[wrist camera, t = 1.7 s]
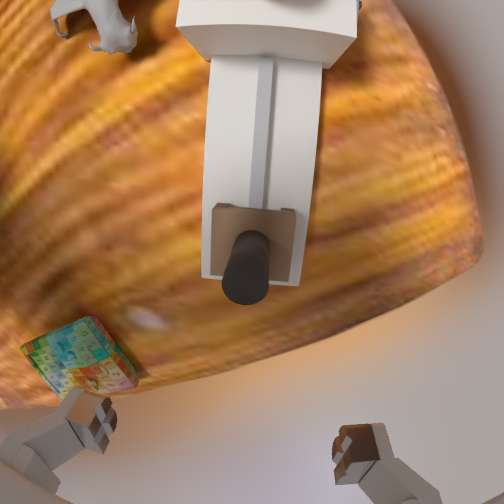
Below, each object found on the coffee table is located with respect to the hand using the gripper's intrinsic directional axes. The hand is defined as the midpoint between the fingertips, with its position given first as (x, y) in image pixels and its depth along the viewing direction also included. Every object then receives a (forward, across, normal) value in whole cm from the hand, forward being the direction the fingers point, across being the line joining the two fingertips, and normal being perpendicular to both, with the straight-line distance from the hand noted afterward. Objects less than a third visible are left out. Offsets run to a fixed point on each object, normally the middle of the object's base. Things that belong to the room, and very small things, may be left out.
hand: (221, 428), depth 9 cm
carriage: (+21, 0, 0) cm, 21 cm away
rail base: (+23, 0, -10) cm, 25 cm away
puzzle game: (+24, +26, +22) cm, 42 cm away
